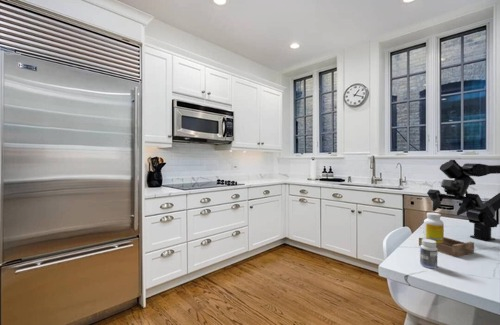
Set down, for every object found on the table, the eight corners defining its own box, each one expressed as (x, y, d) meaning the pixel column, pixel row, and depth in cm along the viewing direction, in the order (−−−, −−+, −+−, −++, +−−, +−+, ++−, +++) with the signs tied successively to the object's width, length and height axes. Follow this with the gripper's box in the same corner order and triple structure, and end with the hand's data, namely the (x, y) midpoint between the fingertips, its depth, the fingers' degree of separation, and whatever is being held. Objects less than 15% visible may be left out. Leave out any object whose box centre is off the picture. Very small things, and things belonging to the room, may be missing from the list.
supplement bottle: (447, 248, 101) (447, 215, 101) (428, 246, 103) (428, 215, 103) (438, 242, 108) (438, 212, 108) (420, 241, 109) (420, 211, 109)
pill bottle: (416, 263, 87) (416, 238, 87) (429, 262, 88) (429, 238, 88) (427, 269, 83) (427, 243, 82) (441, 268, 83) (441, 242, 83)
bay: (435, 241, 110) (435, 232, 110) (473, 253, 96) (474, 242, 96) (417, 244, 106) (417, 235, 106) (454, 256, 93) (454, 245, 93)
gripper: (429, 172, 119) (414, 196, 114) (479, 174, 102) (463, 203, 98) (439, 188, 122) (424, 213, 118) (489, 193, 106) (474, 222, 101)
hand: (444, 212), depth 108 cm, fingers open, 9 cm apart
